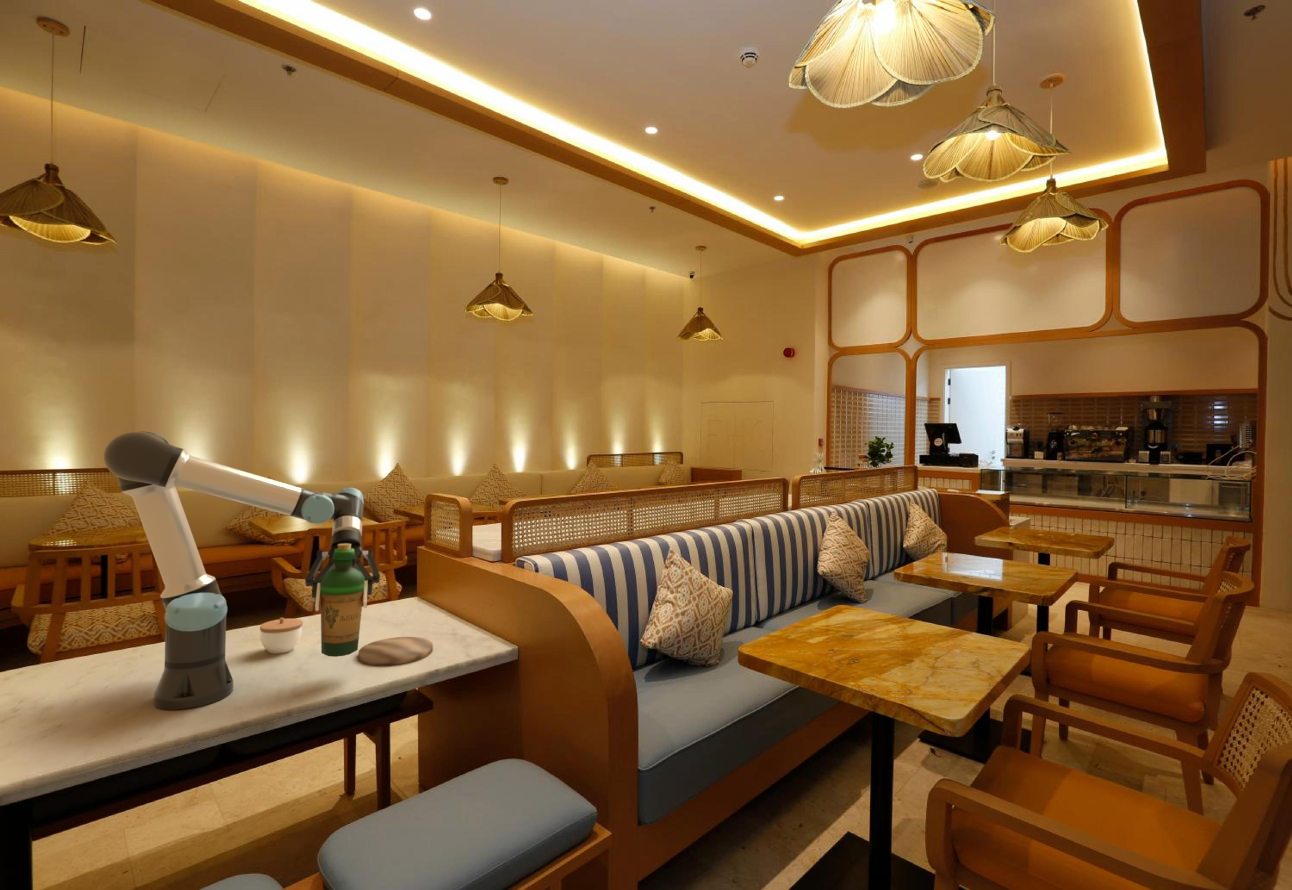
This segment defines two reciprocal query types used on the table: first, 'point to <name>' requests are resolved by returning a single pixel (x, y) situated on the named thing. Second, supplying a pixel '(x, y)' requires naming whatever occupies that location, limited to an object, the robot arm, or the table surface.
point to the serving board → (395, 651)
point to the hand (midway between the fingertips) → (341, 606)
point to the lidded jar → (281, 634)
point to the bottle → (341, 604)
